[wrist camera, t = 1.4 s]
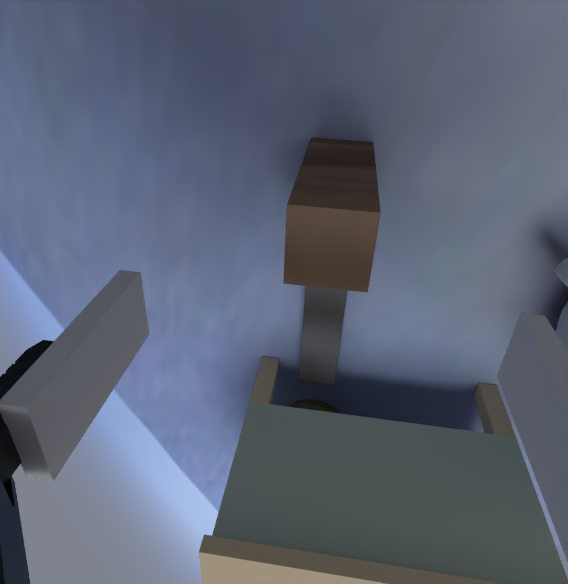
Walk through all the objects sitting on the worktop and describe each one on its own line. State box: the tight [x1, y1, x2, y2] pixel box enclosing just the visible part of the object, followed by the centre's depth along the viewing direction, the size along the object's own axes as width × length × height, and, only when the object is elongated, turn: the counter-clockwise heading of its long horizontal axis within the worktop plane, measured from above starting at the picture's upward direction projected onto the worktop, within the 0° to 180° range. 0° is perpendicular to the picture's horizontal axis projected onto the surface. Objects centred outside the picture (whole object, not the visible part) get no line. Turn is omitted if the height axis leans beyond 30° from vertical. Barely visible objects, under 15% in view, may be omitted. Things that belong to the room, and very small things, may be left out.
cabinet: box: [199, 356, 568, 584], centre depth 35 cm, size 12×21×18 cm, turn 88°
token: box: [288, 400, 340, 414], centre depth 43 cm, size 6×6×2 cm
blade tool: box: [284, 138, 380, 385], centre depth 30 cm, size 20×4×12 cm, turn 178°
